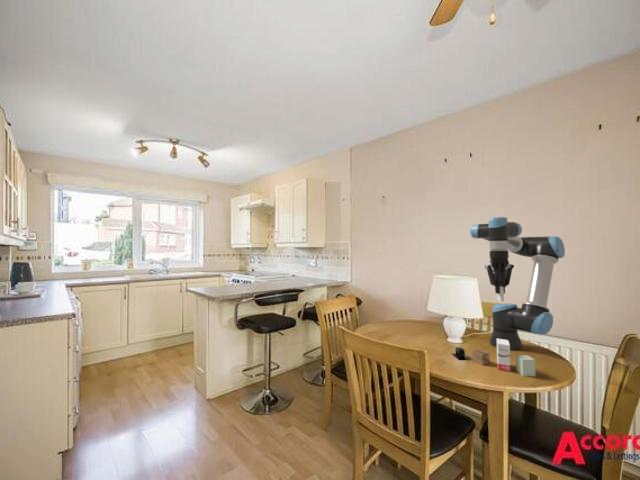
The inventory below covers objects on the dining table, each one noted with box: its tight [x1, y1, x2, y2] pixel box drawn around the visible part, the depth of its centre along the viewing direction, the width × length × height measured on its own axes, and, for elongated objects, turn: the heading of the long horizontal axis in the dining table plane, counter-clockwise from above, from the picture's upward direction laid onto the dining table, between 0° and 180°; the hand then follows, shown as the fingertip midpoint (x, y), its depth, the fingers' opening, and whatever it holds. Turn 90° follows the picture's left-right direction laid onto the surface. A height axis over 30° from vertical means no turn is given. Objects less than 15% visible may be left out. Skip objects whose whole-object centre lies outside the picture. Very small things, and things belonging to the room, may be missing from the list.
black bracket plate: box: [450, 346, 470, 361], centre depth 145 cm, size 12×7×5 cm, turn 178°
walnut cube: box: [472, 349, 491, 366], centre depth 138 cm, size 5×5×5 cm
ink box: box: [496, 339, 512, 372], centre depth 132 cm, size 8×5×12 cm, turn 152°
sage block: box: [515, 354, 536, 377], centre depth 125 cm, size 5×5×7 cm
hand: (500, 300), depth 134 cm, fingers closed
